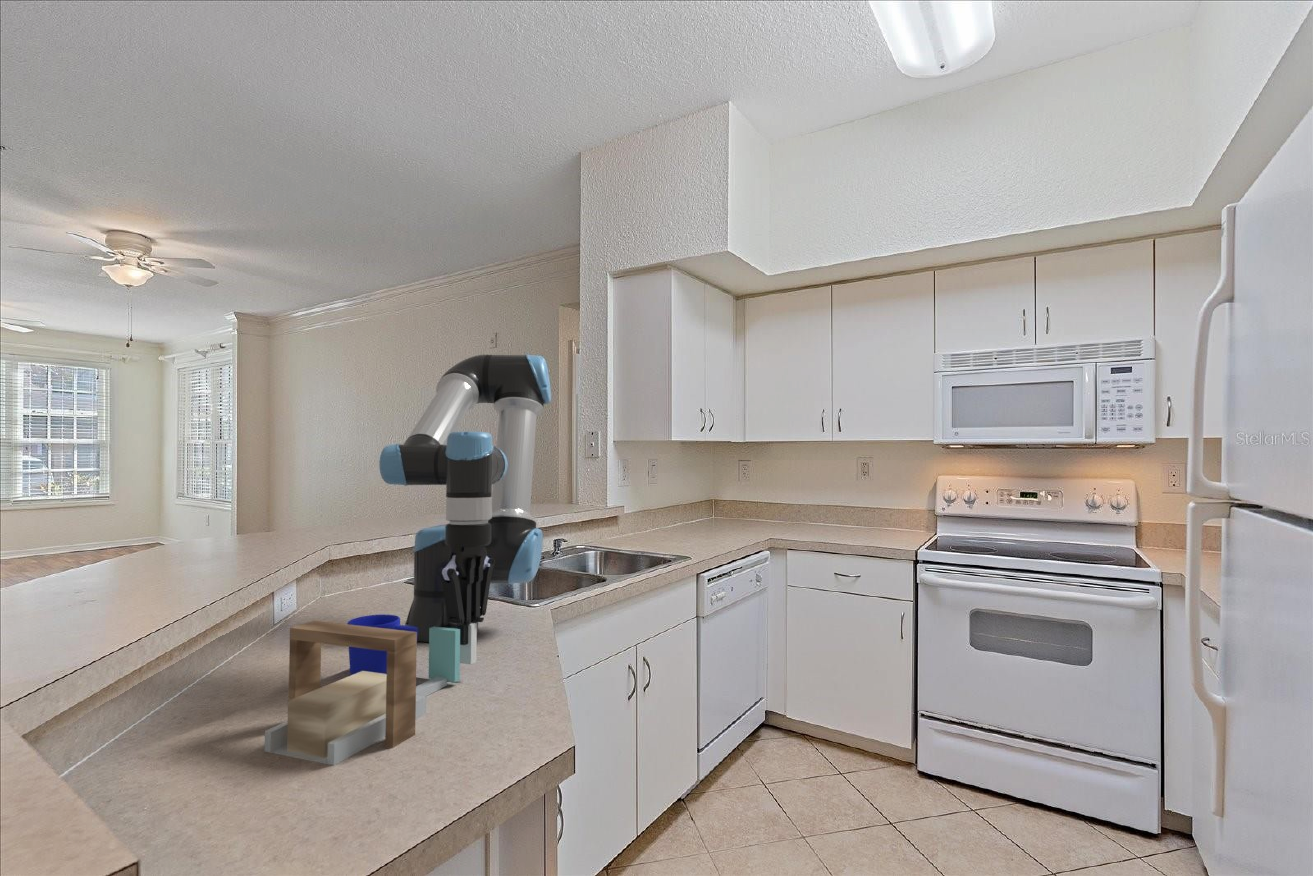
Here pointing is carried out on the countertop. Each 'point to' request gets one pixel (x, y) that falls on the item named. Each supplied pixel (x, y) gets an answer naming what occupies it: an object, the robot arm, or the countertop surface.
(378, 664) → the mug
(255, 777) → the countertop surface
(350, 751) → the sled
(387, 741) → the tunnel
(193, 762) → the countertop surface
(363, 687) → the bar
